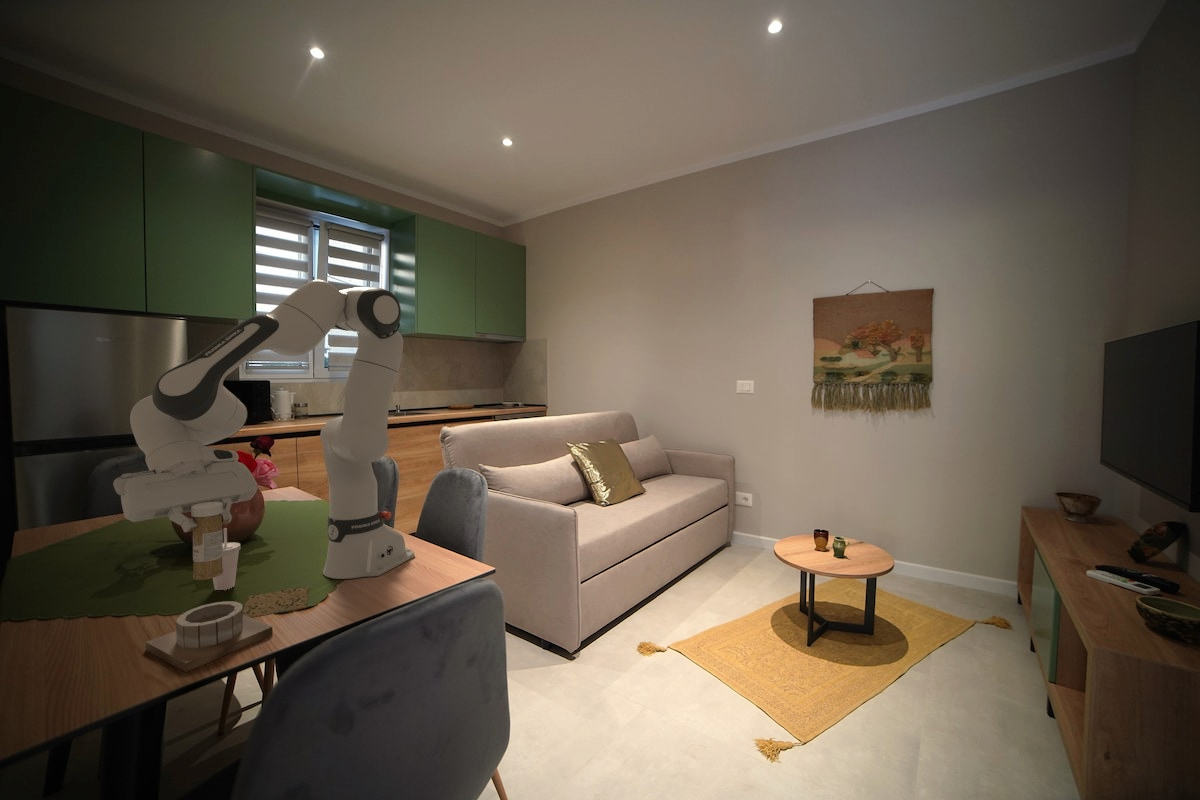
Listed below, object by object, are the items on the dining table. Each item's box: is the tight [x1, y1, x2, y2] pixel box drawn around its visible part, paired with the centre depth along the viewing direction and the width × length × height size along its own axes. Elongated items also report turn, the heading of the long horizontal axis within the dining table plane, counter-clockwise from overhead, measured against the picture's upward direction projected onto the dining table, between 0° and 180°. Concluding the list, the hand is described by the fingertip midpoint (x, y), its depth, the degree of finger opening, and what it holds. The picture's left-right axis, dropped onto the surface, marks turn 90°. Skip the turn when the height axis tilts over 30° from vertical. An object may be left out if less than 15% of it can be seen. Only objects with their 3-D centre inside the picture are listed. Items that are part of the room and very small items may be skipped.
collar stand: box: [145, 600, 274, 673], centre depth 93 cm, size 14×14×6 cm
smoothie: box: [212, 527, 241, 591], centre depth 116 cm, size 6×6×14 cm
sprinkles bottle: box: [190, 502, 224, 581], centre depth 92 cm, size 5×5×13 cm
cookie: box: [243, 586, 310, 619], centre depth 110 cm, size 12×12×1 cm
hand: (209, 525), depth 92 cm, fingers closed on sprinkles bottle, 4 cm apart
